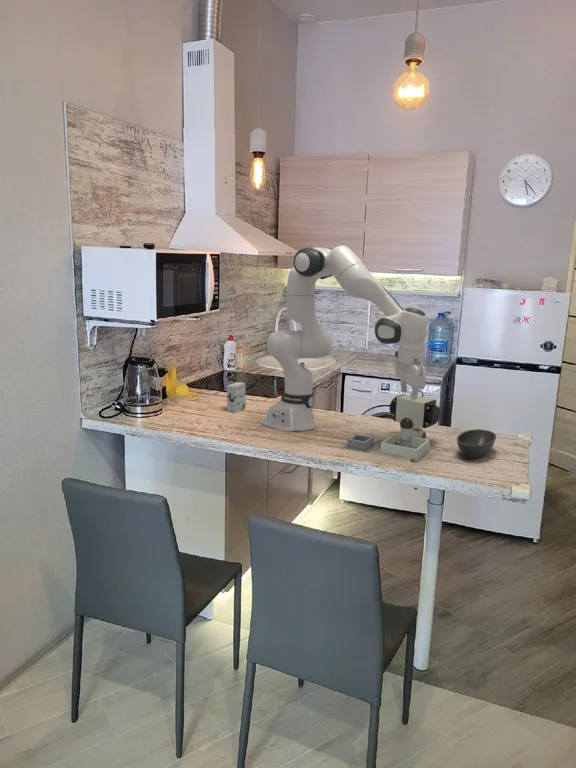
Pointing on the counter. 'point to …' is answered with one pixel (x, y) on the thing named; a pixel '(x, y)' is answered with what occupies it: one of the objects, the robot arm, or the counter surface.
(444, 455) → the counter surface
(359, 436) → the socket block
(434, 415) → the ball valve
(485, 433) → the bowl
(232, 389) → the ink box
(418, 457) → the bin
